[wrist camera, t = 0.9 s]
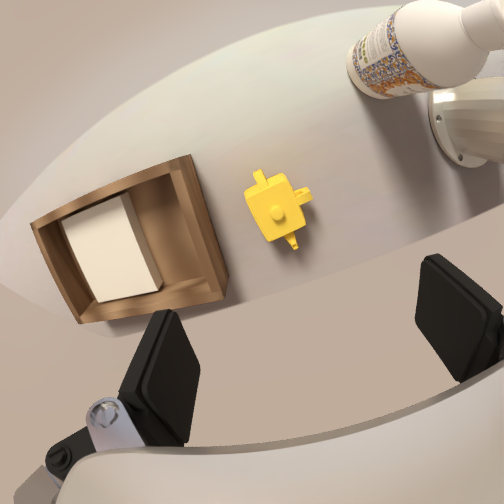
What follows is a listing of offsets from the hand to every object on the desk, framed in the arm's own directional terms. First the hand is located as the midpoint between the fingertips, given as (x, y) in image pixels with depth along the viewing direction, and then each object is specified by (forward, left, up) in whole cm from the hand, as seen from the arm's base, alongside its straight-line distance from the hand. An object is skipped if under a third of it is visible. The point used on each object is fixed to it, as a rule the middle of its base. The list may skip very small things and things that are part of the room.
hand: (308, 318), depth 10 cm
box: (+17, 0, -20) cm, 26 cm away
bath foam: (-14, -12, -20) cm, 27 cm away
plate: (+19, 0, -19) cm, 27 cm away
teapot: (-1, 0, -20) cm, 20 cm away
